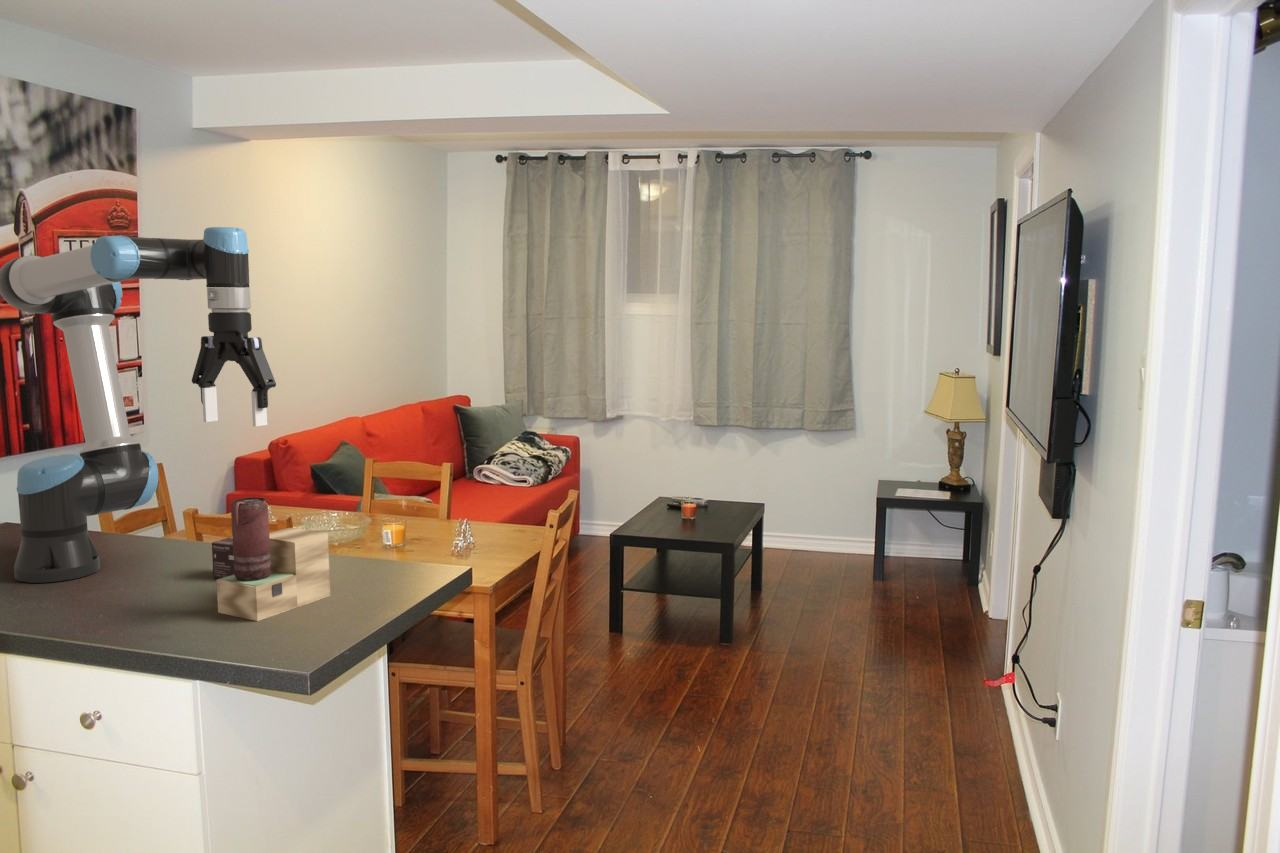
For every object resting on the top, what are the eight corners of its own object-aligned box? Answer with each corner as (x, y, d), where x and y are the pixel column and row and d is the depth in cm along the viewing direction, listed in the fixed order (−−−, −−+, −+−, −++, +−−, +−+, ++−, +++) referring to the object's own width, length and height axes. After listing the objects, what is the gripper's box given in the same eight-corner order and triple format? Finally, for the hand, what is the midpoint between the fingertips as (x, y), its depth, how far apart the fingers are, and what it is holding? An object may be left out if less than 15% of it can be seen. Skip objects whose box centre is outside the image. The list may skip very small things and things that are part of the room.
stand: (218, 612, 183) (214, 546, 182) (292, 588, 198) (289, 527, 196) (258, 621, 178) (255, 553, 177) (331, 596, 193) (328, 533, 192)
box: (212, 578, 205) (210, 542, 204) (234, 570, 211) (232, 535, 210) (236, 581, 203) (234, 545, 202) (258, 574, 209) (256, 538, 208)
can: (226, 581, 181) (222, 502, 179) (247, 571, 187) (243, 495, 185) (258, 582, 180) (254, 504, 178) (277, 573, 186) (274, 497, 184)
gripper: (168, 310, 196) (174, 421, 199) (260, 312, 184) (265, 429, 187) (201, 310, 202) (207, 417, 205) (292, 311, 191) (297, 425, 193)
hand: (235, 423), depth 196 cm, fingers open, 13 cm apart
